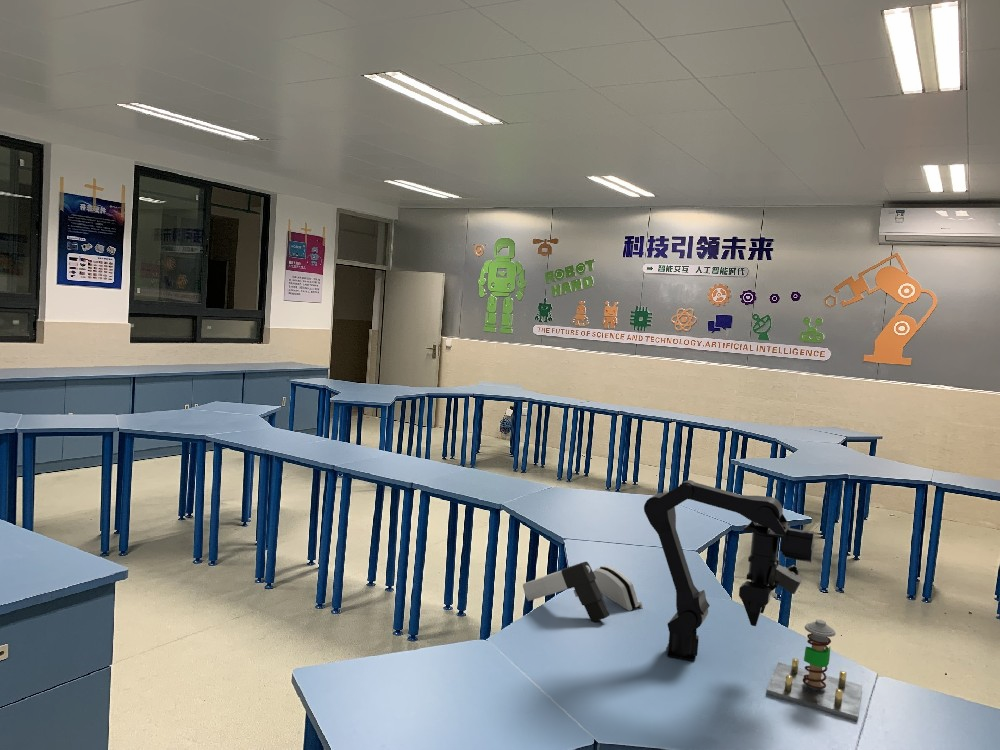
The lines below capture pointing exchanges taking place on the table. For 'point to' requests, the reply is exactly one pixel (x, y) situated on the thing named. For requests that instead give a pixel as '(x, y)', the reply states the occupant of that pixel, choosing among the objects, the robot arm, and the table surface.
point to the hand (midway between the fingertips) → (757, 619)
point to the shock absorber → (817, 653)
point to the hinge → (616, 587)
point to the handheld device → (569, 578)
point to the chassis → (816, 691)
